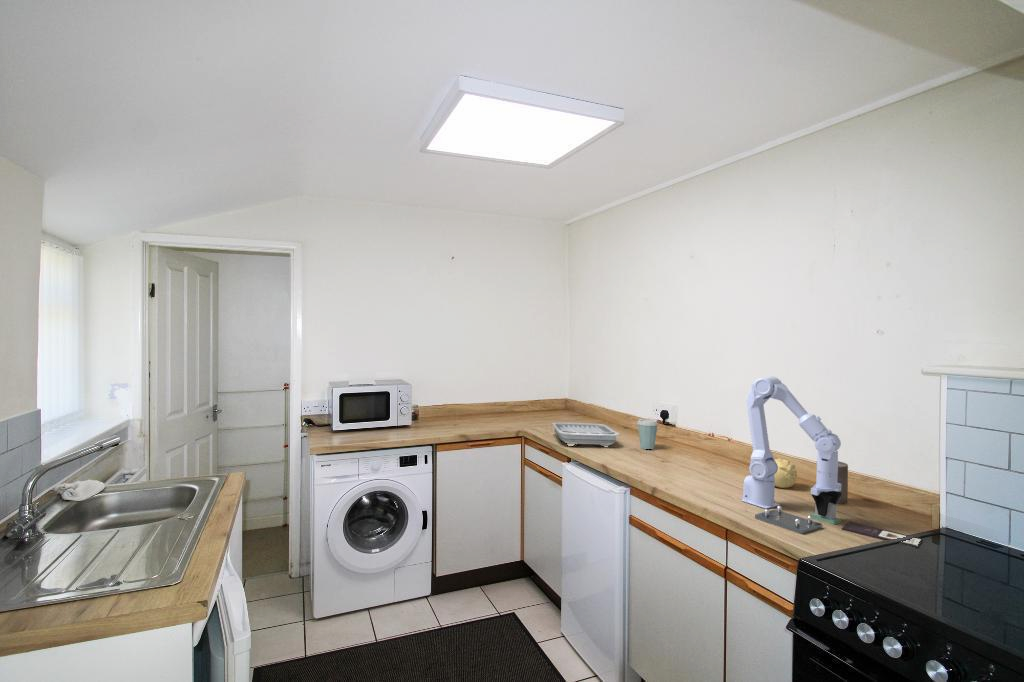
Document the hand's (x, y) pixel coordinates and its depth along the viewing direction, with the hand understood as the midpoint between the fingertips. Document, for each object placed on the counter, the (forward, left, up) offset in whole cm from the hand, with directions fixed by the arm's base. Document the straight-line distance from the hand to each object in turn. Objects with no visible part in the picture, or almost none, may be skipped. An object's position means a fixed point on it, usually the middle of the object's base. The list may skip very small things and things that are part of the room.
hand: (825, 514), depth 167 cm
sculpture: (-30, +24, -2) cm, 38 cm away
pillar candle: (-10, +23, -2) cm, 25 cm away
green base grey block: (0, 0, -2) cm, 2 cm away
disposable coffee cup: (-101, +25, -2) cm, 104 cm away
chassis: (-4, -14, -2) cm, 15 cm away
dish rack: (-129, +7, -2) cm, 129 cm away
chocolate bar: (+15, +2, -2) cm, 15 cm away
